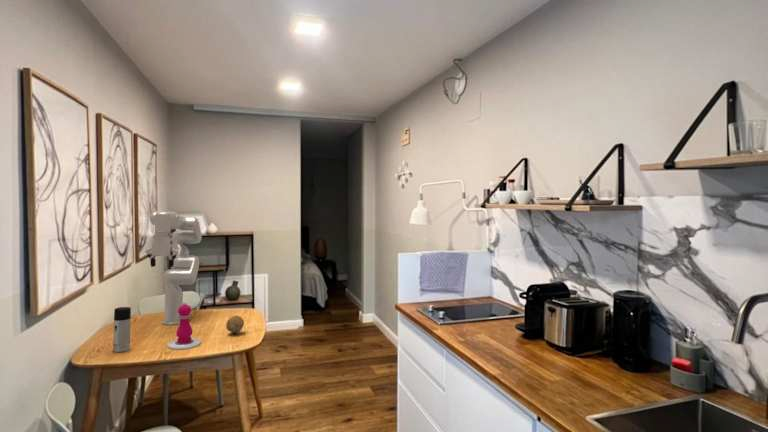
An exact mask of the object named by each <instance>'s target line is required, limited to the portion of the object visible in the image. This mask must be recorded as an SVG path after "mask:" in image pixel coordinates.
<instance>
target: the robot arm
mask: <svg viewBox="0 0 768 432" xmlns="http://www.w3.org/2000/svg"><path fill="white" fill-rule="evenodd" d="M149 221H150V224H151V225H153V226H154V237H153V238H152V243H151V248H149V249H147V250H145V254H146V255H147V257H148V258H149V259H150V267H151V268H153V267H156V260H157V259H156V257H167V258H168V268H171V269H166V270H165V271H164V273H163V274H162V275H163V276H162V278H163V284H164V318H163V319H162V320H161V324H162V325H165V326H166V325H167V326H169V325H170V326H172V325H180V318H179V315H180V314H179V313H178V309H179V307H180V306H182V305H183V302H184V293H183V289H182V288H181V286H192V285H194V284H195V283H196V281H197V276H198V272H199V268H200V258H199V257H198V256H196V255H190V251H189V248H188V247H187V246H186V245H185V244H194V245H195V244H199V243H200V242H202V238H203V237H202V231H201V226H200V221H199V220H198V218H197V217H196V216H184V215H183V216H182V215H180V214H178V213H177V212H175V211H153V212H151V214H150V215H149ZM171 229H174V232H172V231H171Z"/></svg>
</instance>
